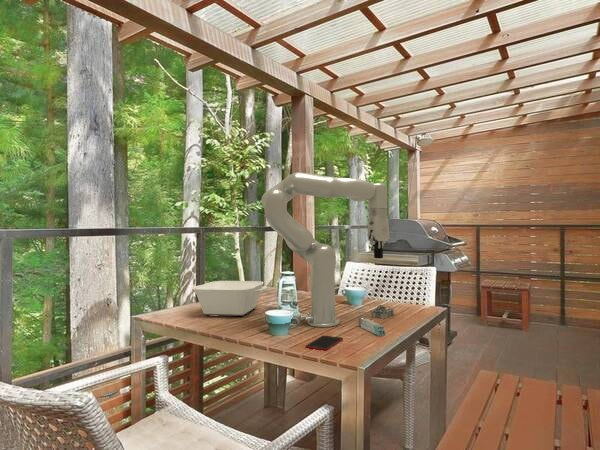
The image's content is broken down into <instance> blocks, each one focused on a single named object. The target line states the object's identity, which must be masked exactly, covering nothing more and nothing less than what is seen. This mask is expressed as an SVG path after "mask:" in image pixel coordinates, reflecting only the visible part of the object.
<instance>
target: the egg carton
mask: <svg viewBox="0 0 600 450" xmlns="http://www.w3.org/2000/svg"><path fill="white" fill-rule="evenodd" d="M394 310H395V308H390V307H389V308H388V309H386V306H385V305H382V304H378V305H377V306H376V307H375V308H374V309H372V310H370V313H371V317H372V318H373V319H375V318H380V319H381V320H382V319H388V318H390V317H391V316H394V315H395V312H394Z"/></svg>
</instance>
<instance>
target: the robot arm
mask: <svg viewBox="0 0 600 450" xmlns="http://www.w3.org/2000/svg"><path fill="white" fill-rule="evenodd" d="M387 192H388V191H387V185H386V183H383V182H374V183H373V182H372V183H371V182H370V181H367V180H363V179H362V180H361V179H358V178H357V179H356V178H349V177H348V178H347V177H337V176H328V175H323V174H322V175H321V174H314V173H308V172H302V171H299V172H297V171H296V172H293V173H291V174H289V175H288V176H286V177H285V178H284V179H283V180H281V181H280V182H278V183H277V184H275V185H274V186H272V187H270V189H268V190H267V191H266V192H264V193H263V194H262V196H261V199H260V200H261V205H262V208H263V209H264V214H265V219H266V221H267V223H268V225H269V226H270V228H271V229H272V230H273V231H275V232H276V234H278V235H279V236H280V237H282V238H283V240H284V241H285V243H286V245H287V246H288V248H289V249H290V250H291V251H293V252H294V253H295V254H297V255H298V256H299V257H300V258H301V259H302V260H304V261H305V262H307V263H308V264H309V265H311V267H310V306H311V308H310V309H311V310H310V311H308V313H307V314H299V320H300V321H304V320H305V322H306V321H307V324H308V325H309V326H311V327H315V328H316V327H318V328H328V327H335V326H338V325H340V319H339V318H336V284H335V283H336V282H335V281H336V278H335V277H336V275H335V273H336V271H335V270H336V263H337V254H336V252H335V250H334V248H333V247H332V246H331V245H329V244H327V243H321V242H319V241H317V240H316V239H315V238H314V236H313V233H312V232H311V231H310V230H309V229H308V228H306V227H305V226H304V225H303V224H301V223H300V222H299V221H297V220H296V219H295V218H294V217H293V216H292V215H291V214H290V213H289V212H288V210H287V203H288V202H289V201H291V200H292V199H294V198H295V197H296V196H298V195H303V196H310V197H311V196H312V197H317V198H318V197H319V198H328V199H333V198H334V199H335V198H348V199H350V200H351V201H354V202H359V203H360V202H365V201H368V202H367V205H368V207H367V209H368V210H367V211H368V212H367V213H368V221H367V239H368V240H369V244H370V245H372V248H373V258H374V259H383V258H384V246H385V244H386V243H387V241H389V240H390V224H389V218H388V200H387V199H388V198H387V197H388V196H387V195H388V194H387Z"/></svg>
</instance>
